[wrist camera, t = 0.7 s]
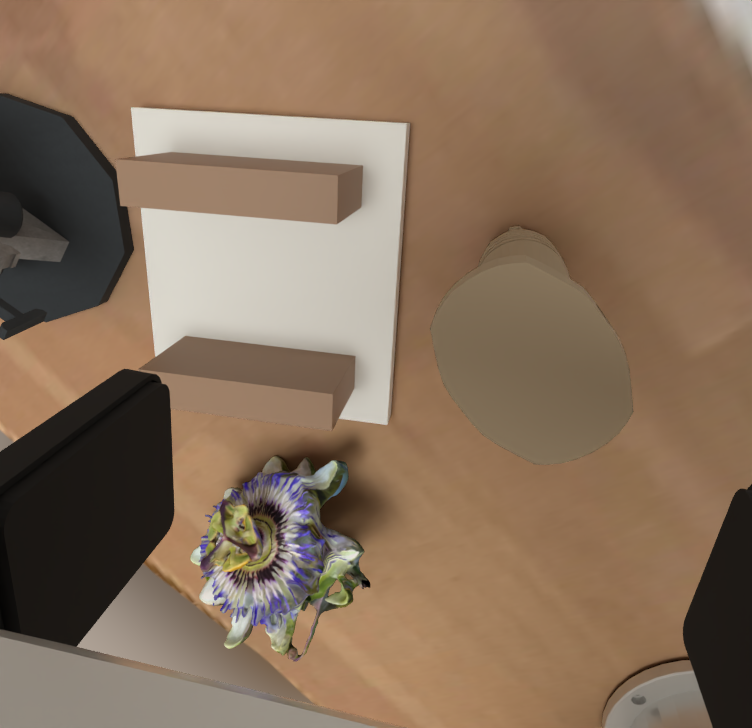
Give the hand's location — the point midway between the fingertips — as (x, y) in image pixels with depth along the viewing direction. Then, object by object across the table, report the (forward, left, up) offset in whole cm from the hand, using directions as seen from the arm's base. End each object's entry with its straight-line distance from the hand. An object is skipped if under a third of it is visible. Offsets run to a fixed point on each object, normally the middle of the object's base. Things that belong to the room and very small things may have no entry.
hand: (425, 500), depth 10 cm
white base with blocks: (-3, +11, -23) cm, 26 cm away
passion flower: (-19, +9, -24) cm, 31 cm away
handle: (-1, -2, -23) cm, 24 cm away
